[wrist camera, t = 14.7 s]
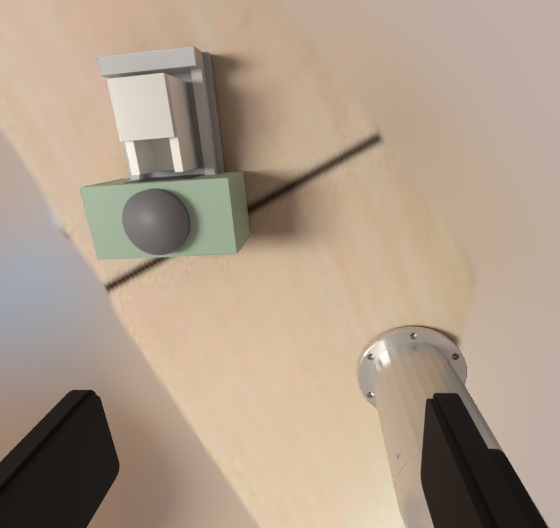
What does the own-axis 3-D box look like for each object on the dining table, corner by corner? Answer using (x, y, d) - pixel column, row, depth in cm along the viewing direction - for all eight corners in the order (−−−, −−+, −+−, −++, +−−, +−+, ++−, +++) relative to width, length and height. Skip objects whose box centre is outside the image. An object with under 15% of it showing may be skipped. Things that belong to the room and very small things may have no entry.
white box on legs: (136, 87, 35) (106, 78, 30) (185, 81, 34) (163, 72, 29) (152, 171, 37) (127, 176, 32) (198, 167, 37) (180, 172, 32)
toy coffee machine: (250, 234, 40) (234, 257, 32) (132, 240, 42) (91, 263, 34) (231, 52, 34) (206, 28, 26) (95, 67, 36) (35, 48, 28)
